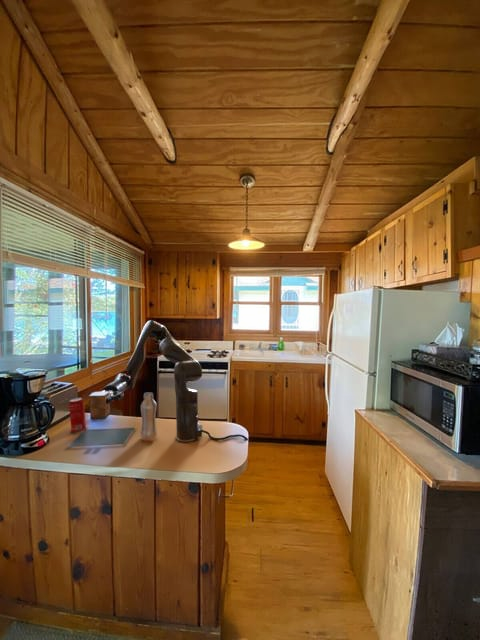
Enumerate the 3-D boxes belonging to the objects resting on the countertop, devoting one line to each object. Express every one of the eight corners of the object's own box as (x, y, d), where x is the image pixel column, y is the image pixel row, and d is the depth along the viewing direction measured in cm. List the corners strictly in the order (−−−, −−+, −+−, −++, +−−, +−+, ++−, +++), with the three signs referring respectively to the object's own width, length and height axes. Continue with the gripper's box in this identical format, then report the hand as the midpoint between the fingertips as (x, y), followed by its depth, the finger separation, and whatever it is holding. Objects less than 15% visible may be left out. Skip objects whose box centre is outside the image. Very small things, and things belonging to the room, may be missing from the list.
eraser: (110, 414, 118) (109, 391, 117) (105, 419, 113) (104, 395, 112) (95, 414, 118) (94, 391, 117) (90, 419, 113) (89, 395, 112)
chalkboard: (135, 429, 127) (135, 427, 127) (123, 446, 111) (123, 443, 111) (85, 432, 125) (85, 429, 125) (66, 449, 109) (66, 446, 109)
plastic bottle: (145, 436, 120) (145, 391, 120) (160, 437, 119) (159, 391, 118) (137, 443, 114) (136, 395, 113) (152, 444, 112) (151, 396, 112)
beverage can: (88, 430, 127) (87, 398, 127) (73, 435, 122) (73, 401, 121) (81, 427, 130) (80, 396, 130) (67, 432, 125) (66, 399, 124)
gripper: (97, 382, 130) (80, 393, 113) (129, 382, 131) (116, 392, 114) (98, 398, 130) (80, 411, 113) (129, 397, 131) (116, 410, 114)
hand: (98, 401), depth 114 cm, fingers closed on eraser, 6 cm apart
